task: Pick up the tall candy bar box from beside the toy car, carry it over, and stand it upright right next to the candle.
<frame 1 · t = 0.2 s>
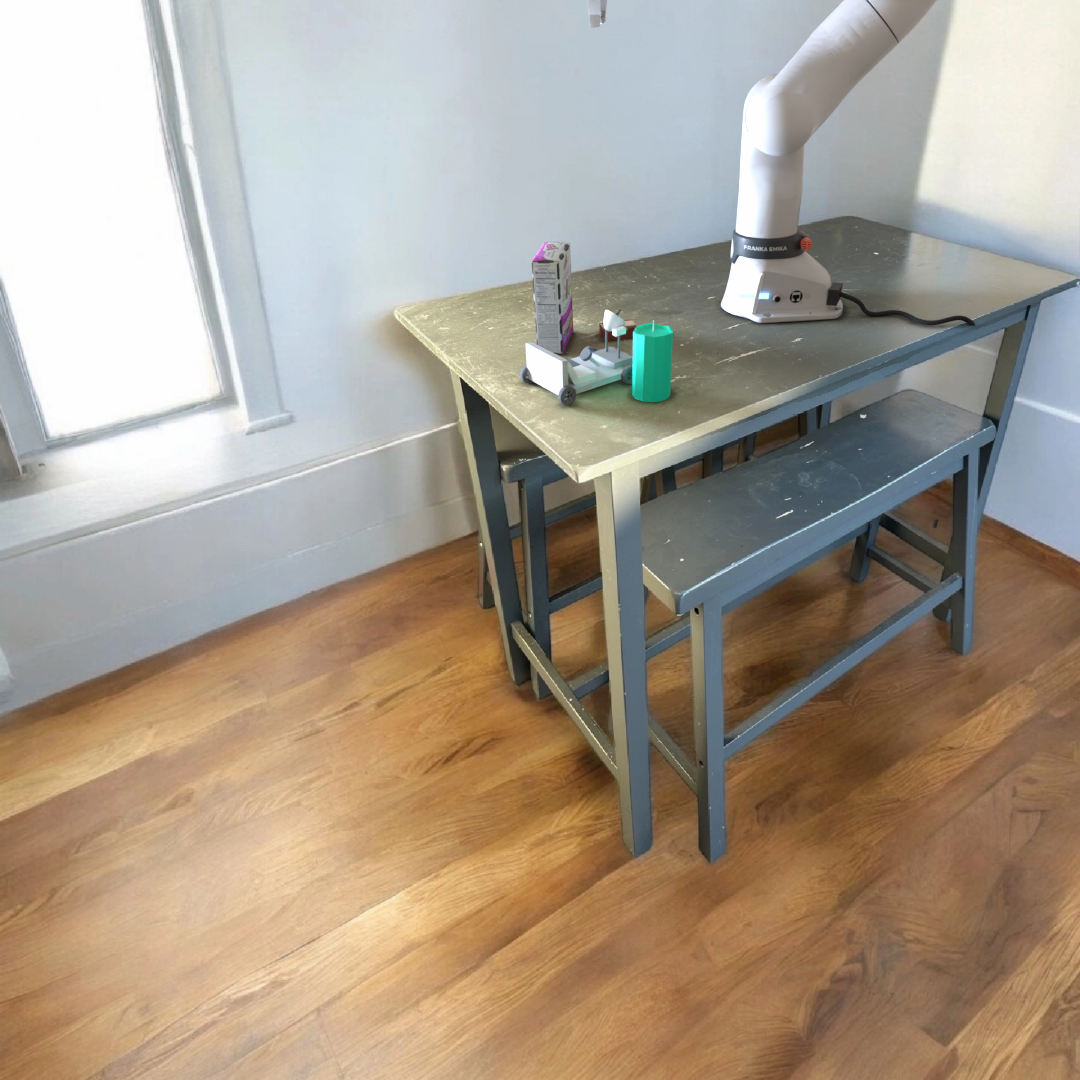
hand: (597, 25, 142), 48 cm above the table, tool pointing down, fingers open, 8 cm apart
candle: (651, 395, 134), on the table
candy bar box: (555, 343, 153), on the table
toy car: (585, 381, 139), on the table
matchbox: (617, 335, 155), on the table
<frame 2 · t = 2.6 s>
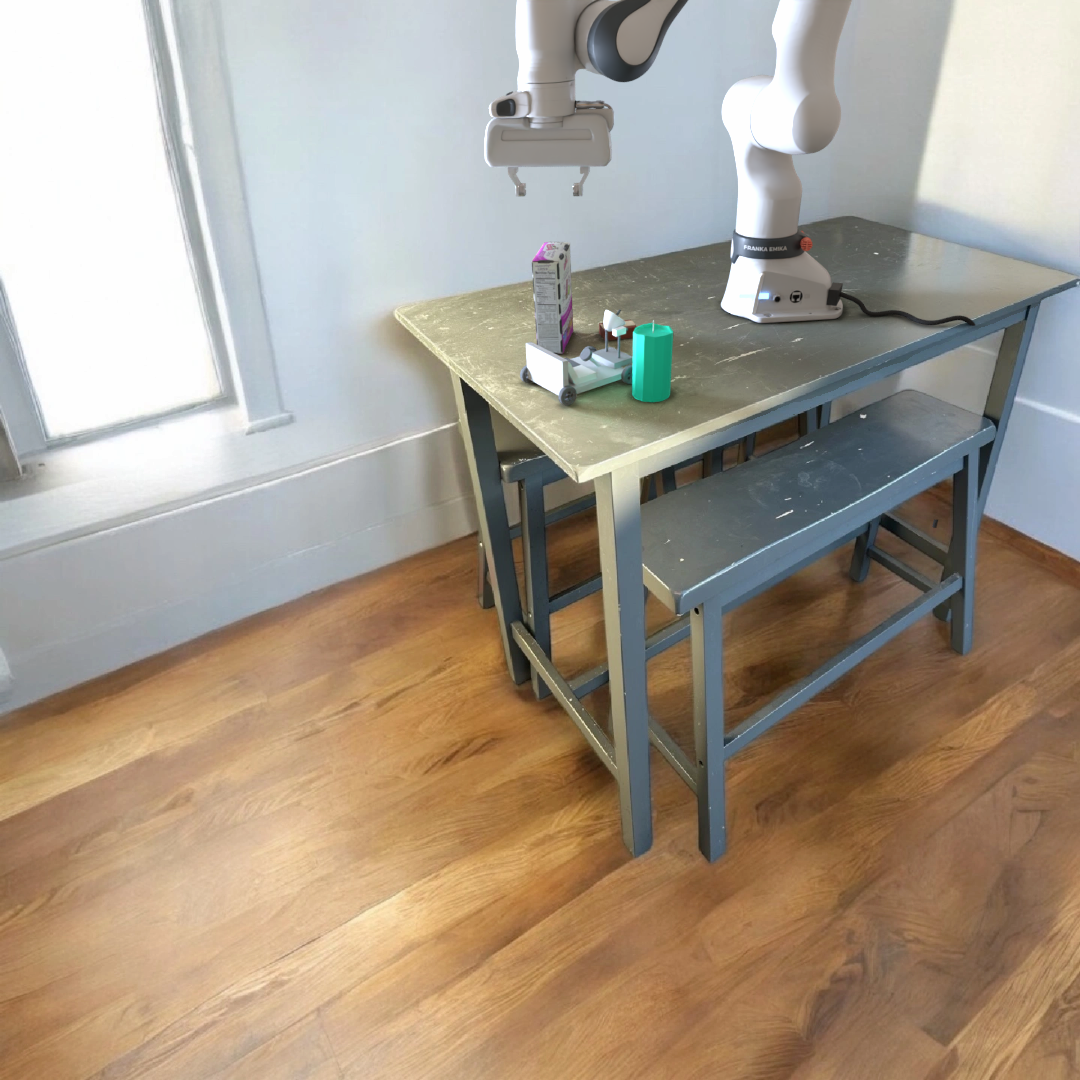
hand: (549, 195, 139), 25 cm above the table, tool pointing down, fingers open, 8 cm apart
nothing on the table moved.
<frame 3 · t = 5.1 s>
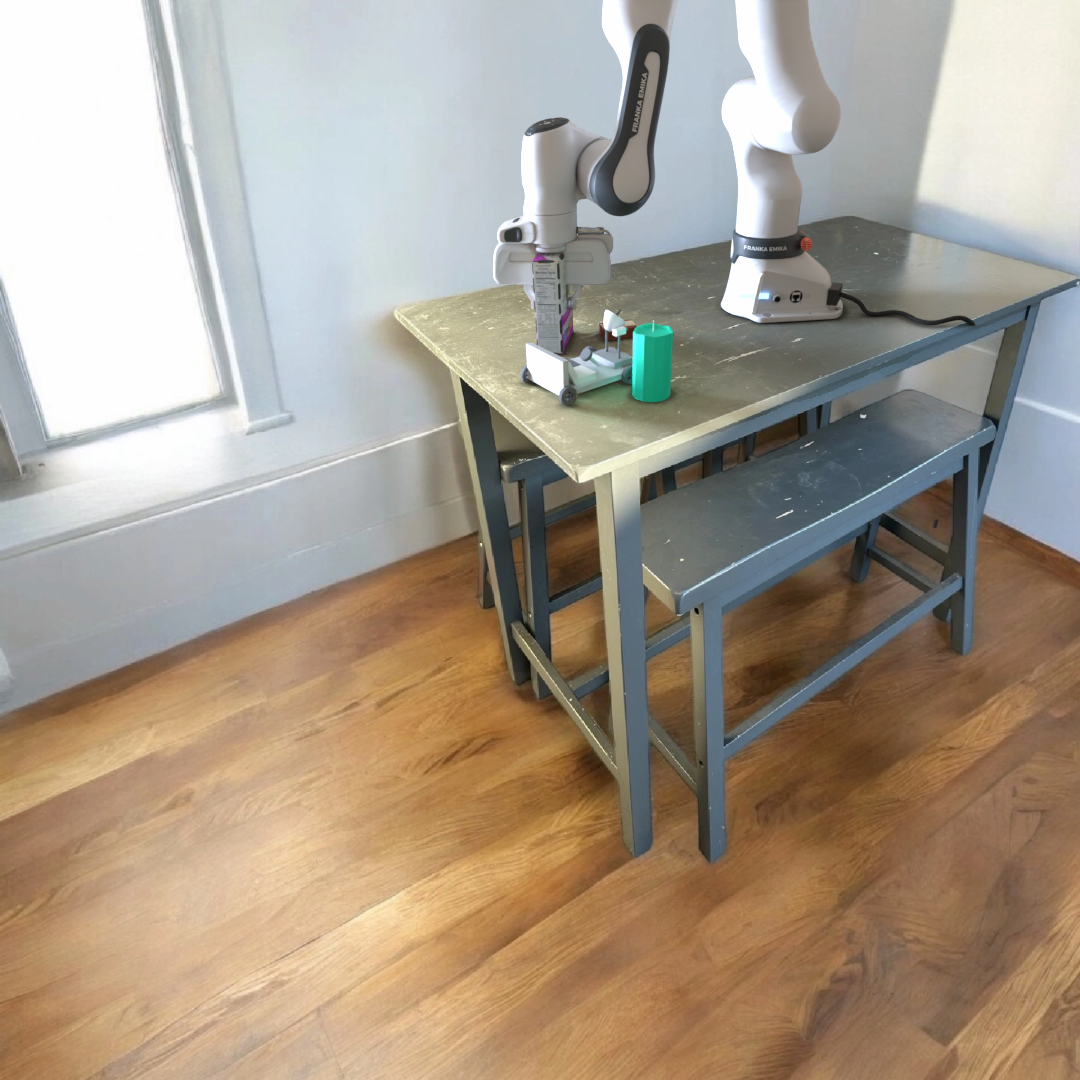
hand: (553, 308, 150), 6 cm above the table, tool pointing down, fingers closed on candy bar box, 5 cm apart
candy bar box: (555, 343, 153), on the table, touching gripper
everything else where it was.
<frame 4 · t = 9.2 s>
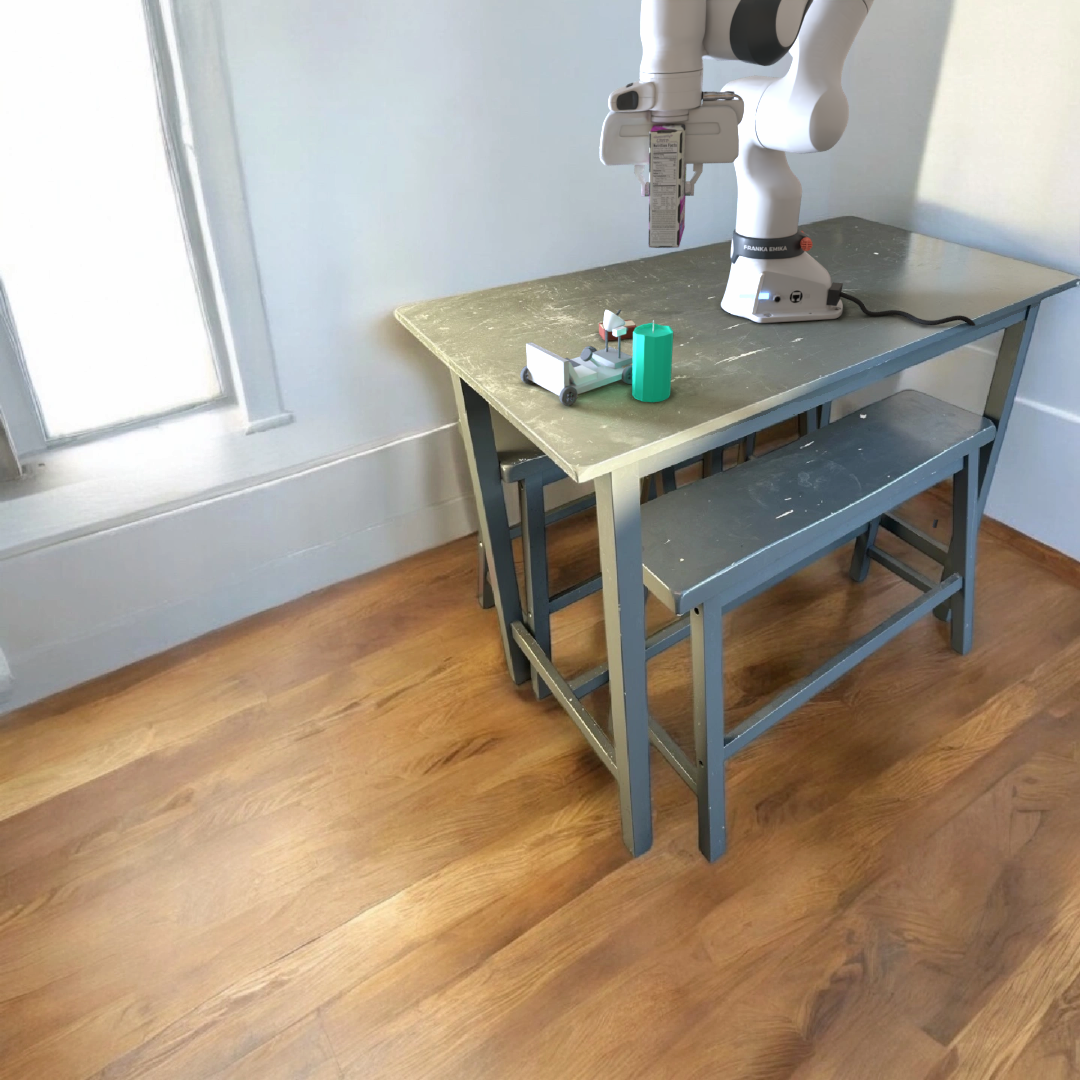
hand: (667, 195, 129), 27 cm above the table, tool pointing down, fingers closed on candy bar box, 5 cm apart
candy bar box: (666, 239, 132), point 20 cm above the table, touching gripper
everything else where it was.
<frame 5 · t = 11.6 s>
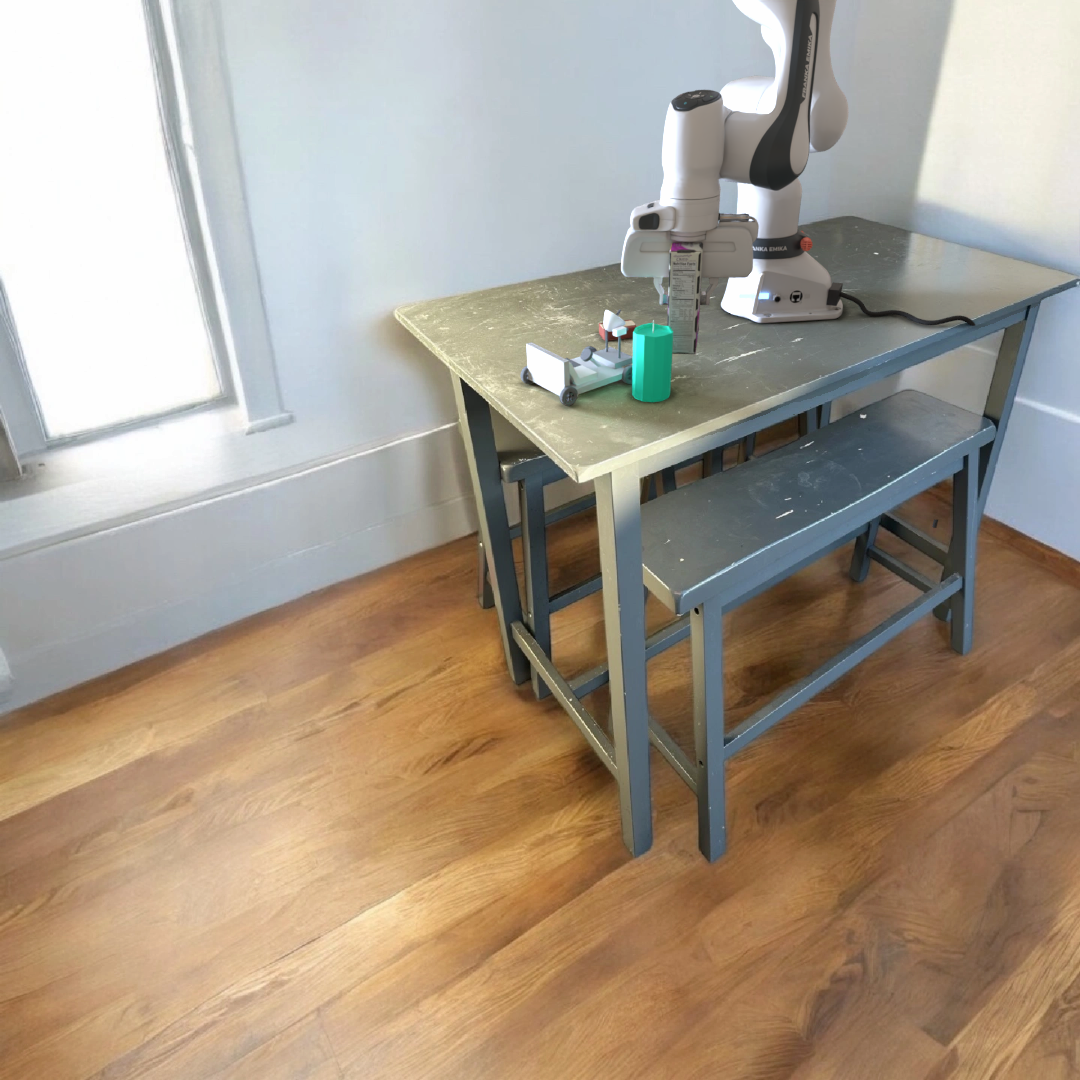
hand: (683, 303, 136), 11 cm above the table, tool pointing down, fingers closed on candy bar box, 5 cm apart
candy bar box: (681, 343, 139), point 4 cm above the table, touching gripper
everything else where it was.
when the fingers open (6 cm above the table, at t = 13.3 s): candy bar box stays where it is, on the table.
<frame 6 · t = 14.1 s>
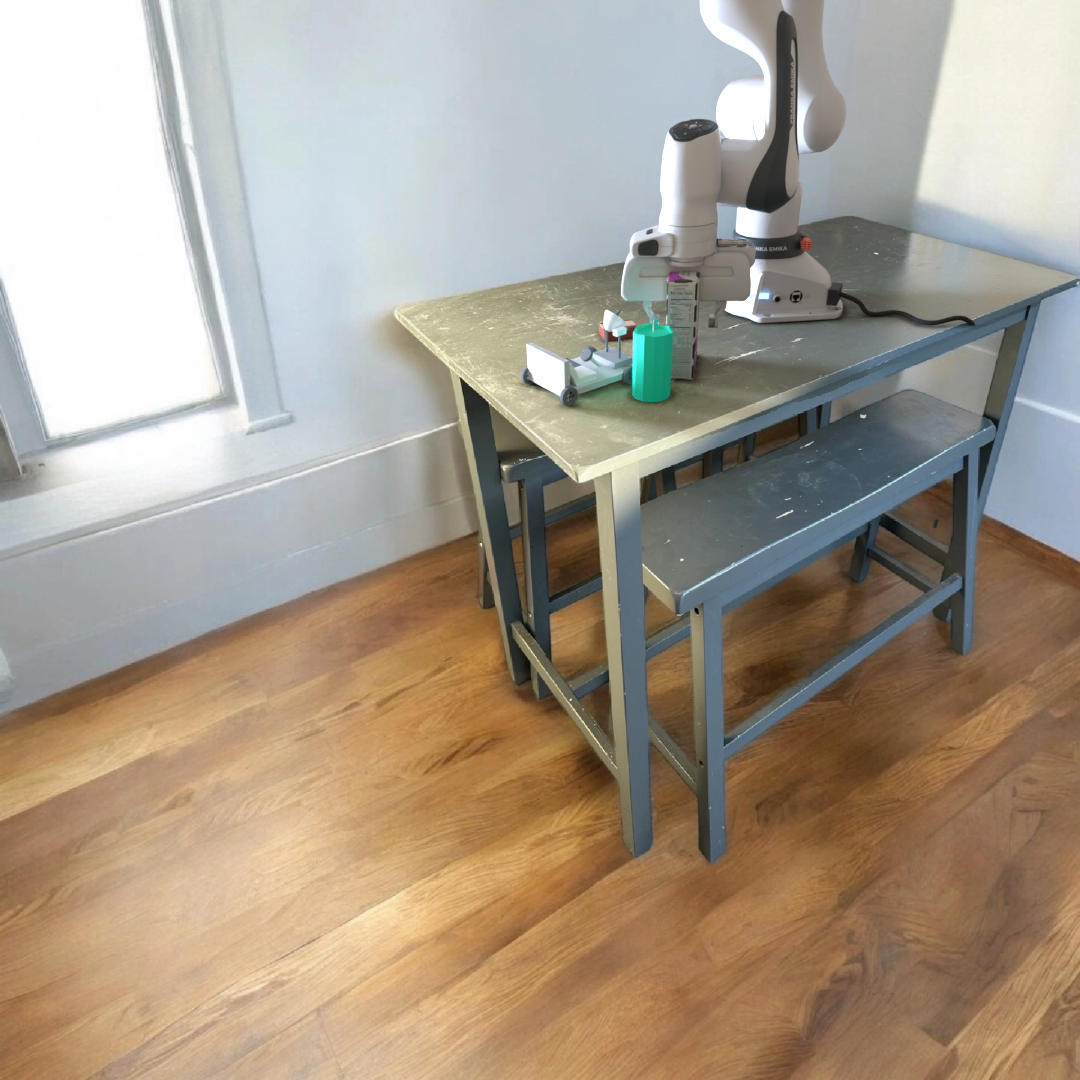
hand: (683, 326, 138), 7 cm above the table, tool pointing down, fingers open, 8 cm apart
candy bar box: (680, 368, 142), on the table
everything else where it was.
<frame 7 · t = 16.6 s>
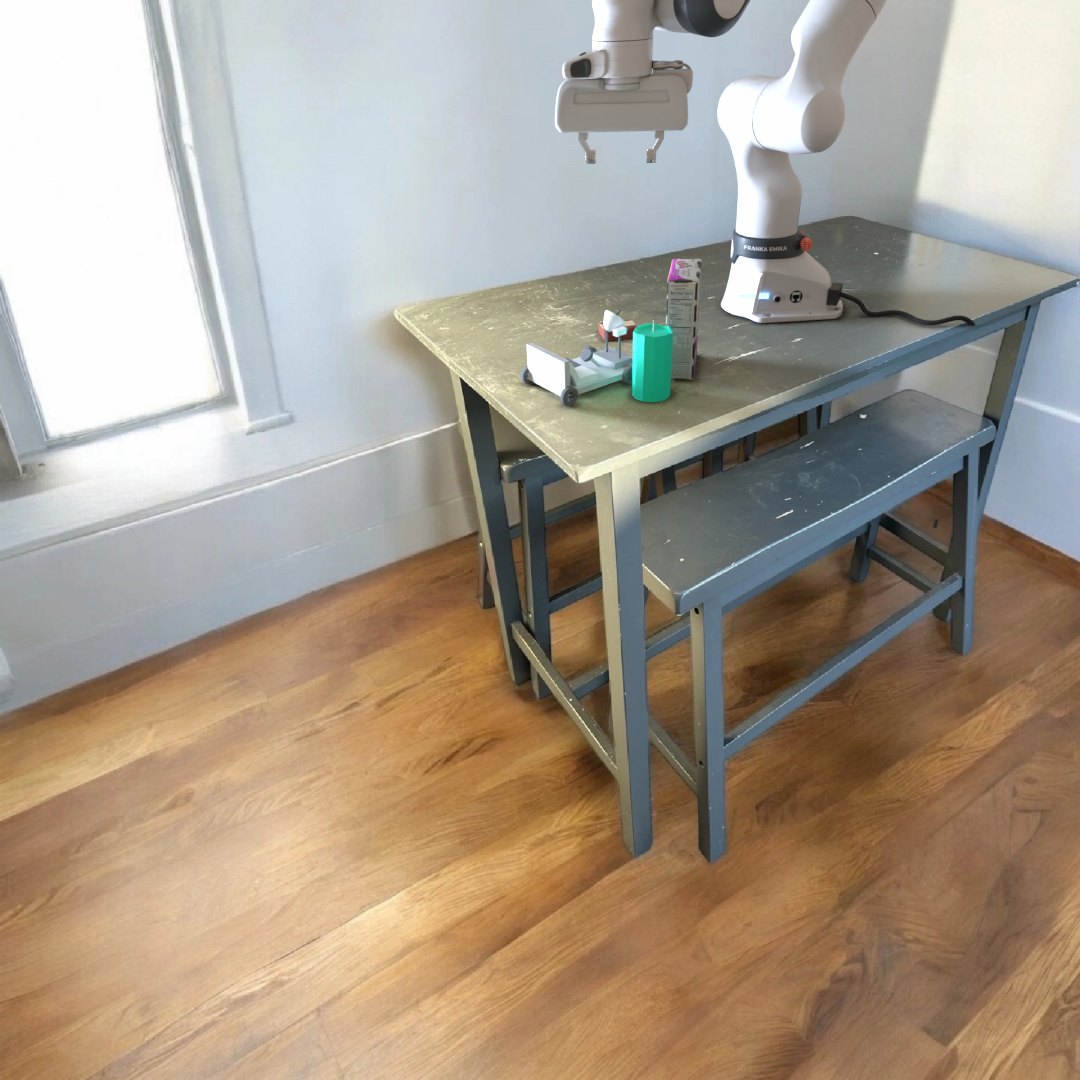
hand: (620, 162, 133), 30 cm above the table, tool pointing down, fingers open, 8 cm apart
nothing on the table moved.
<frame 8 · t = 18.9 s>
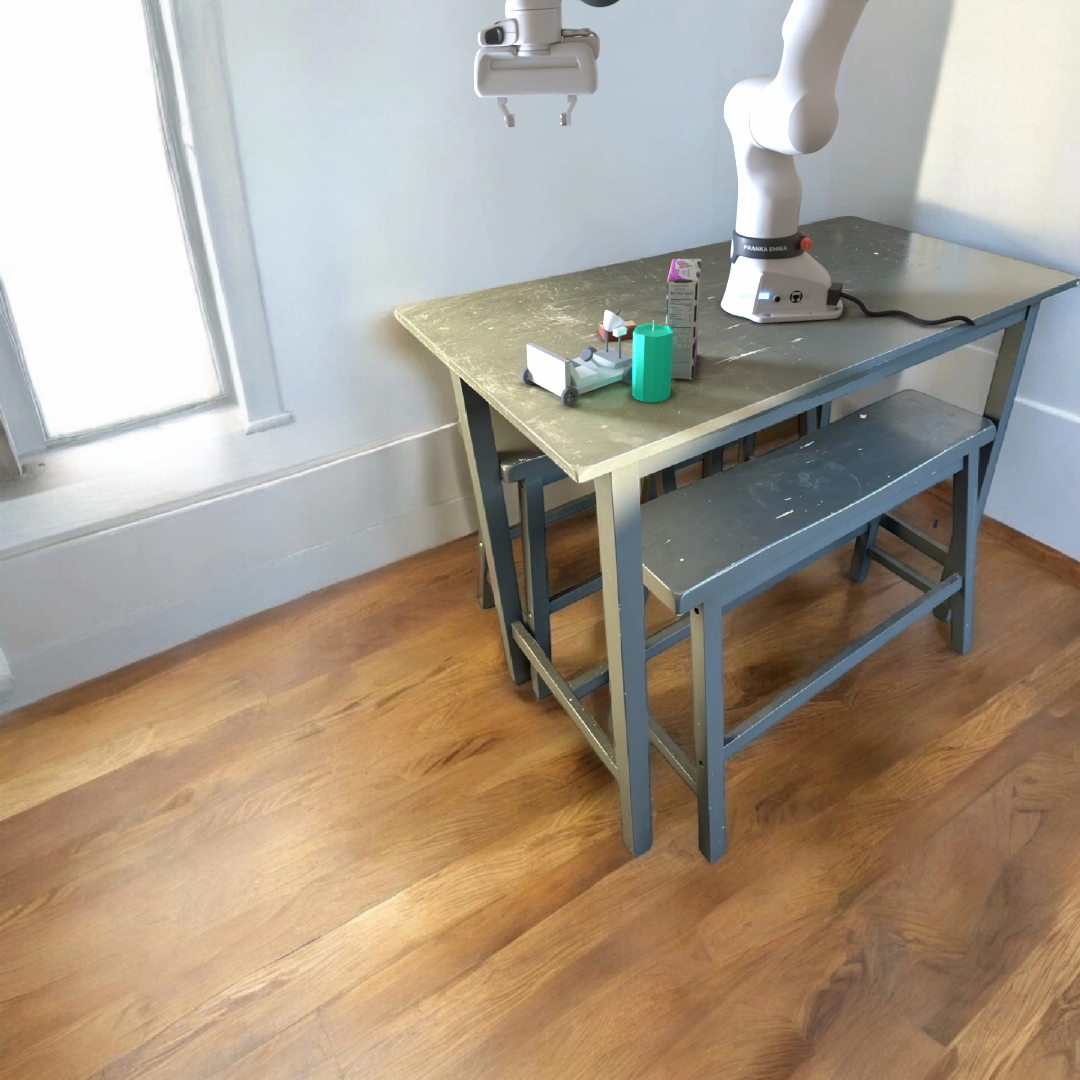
hand: (538, 126, 143), 34 cm above the table, tool pointing down, fingers open, 8 cm apart
nothing on the table moved.
at the end: candy bar box 11.8 cm from the candle (horizontally); candy bar box tilted 0°; candle moved 0.2 cm from its start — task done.
